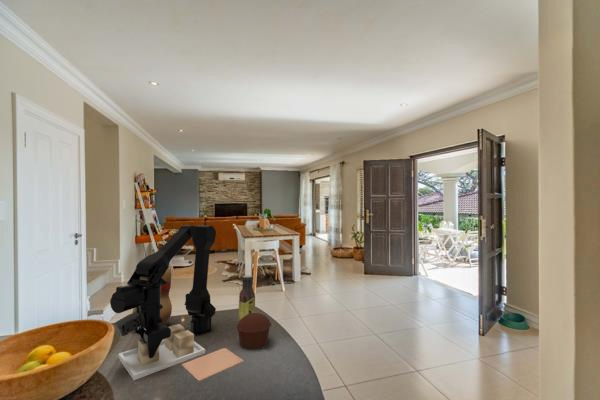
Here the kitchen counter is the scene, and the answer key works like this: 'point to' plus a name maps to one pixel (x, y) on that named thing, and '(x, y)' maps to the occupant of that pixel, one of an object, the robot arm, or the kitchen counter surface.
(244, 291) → the sauce bottle
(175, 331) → the plain box
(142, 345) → the labelled box
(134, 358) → the white shallow tray
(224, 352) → the terracotta tile
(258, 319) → the muffin
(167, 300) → the butternut squash
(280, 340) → the kitchen counter surface
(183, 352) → the plain box
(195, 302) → the robot arm
